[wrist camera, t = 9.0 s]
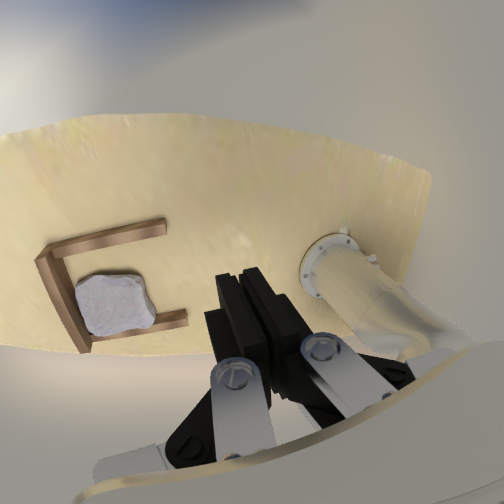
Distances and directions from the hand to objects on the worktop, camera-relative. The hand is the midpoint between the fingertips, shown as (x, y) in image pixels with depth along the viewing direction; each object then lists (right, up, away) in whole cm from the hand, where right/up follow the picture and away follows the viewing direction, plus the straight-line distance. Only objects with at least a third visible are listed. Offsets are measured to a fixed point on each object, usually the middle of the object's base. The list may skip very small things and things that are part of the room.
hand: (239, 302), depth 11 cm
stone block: (-21, -5, +27) cm, 35 cm away
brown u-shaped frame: (-19, -3, +26) cm, 32 cm away
